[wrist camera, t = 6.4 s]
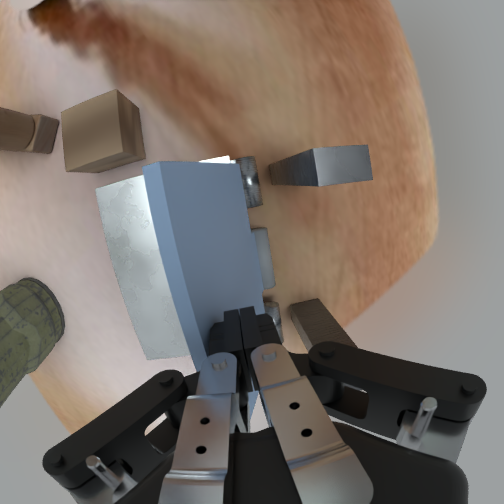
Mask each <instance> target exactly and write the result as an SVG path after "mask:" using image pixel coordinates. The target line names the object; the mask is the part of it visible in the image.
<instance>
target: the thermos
mask: <svg viewBox="0 0 504 504" xmlns="http://www.w3.org/2000/svg"><path fill="white" fill-rule="evenodd" d="M64 327H65V323H64V315H63V312H62V310H61V307H60V304H59V303H58V301H57V299H56V297H55V296H54V294H53V293H52V292H51V291H50V290H49V288H48V287H47V286H46V285H44V284H43V283H42V282H40V281H39V280H37V279H33V278H23V279H22V280H20V281H19V282H18V283H16V284H12V285H9V286H8V287H6V288H4V289H3V290H1V291H0V407H1V406H2V405H3V403H4V402H5V400H6V399H7V398H8V396H9V395H10V394H11V392H12V391H13V390H14V388H15V387H16V386H17V384H18V383H19V382H20V381H21V379H22V378H23V377H24V376H25V375H26V374H28V373H31V372H33V371H35V370H36V369H37V368H38V367H39V365H40V364H41V363H42V362H43V360H44V359H45V358H46V357H47V356H48V354H49V353H50V352H51V351H52V349H53V347H54V346H55V343H56V342H58V341H59V339H60V338H61V336H62V335H63V333H64Z"/></svg>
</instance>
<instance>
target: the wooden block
mask: <svg viewBox="0 0 504 504" xmlns="http://www.w3.org/2000/svg"><path fill="white" fill-rule="evenodd" d="M57 126H58V120H57V119H54V118H50V117H47V116H44V115H27V114H23V113H20V112H16V111H12V110H9V109H5V108H1V107H0V150H3V151H22V152H36V153H47V154H49V153H51V151H52V147H53V142H54V138H55V134H56V130H57Z"/></svg>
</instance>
